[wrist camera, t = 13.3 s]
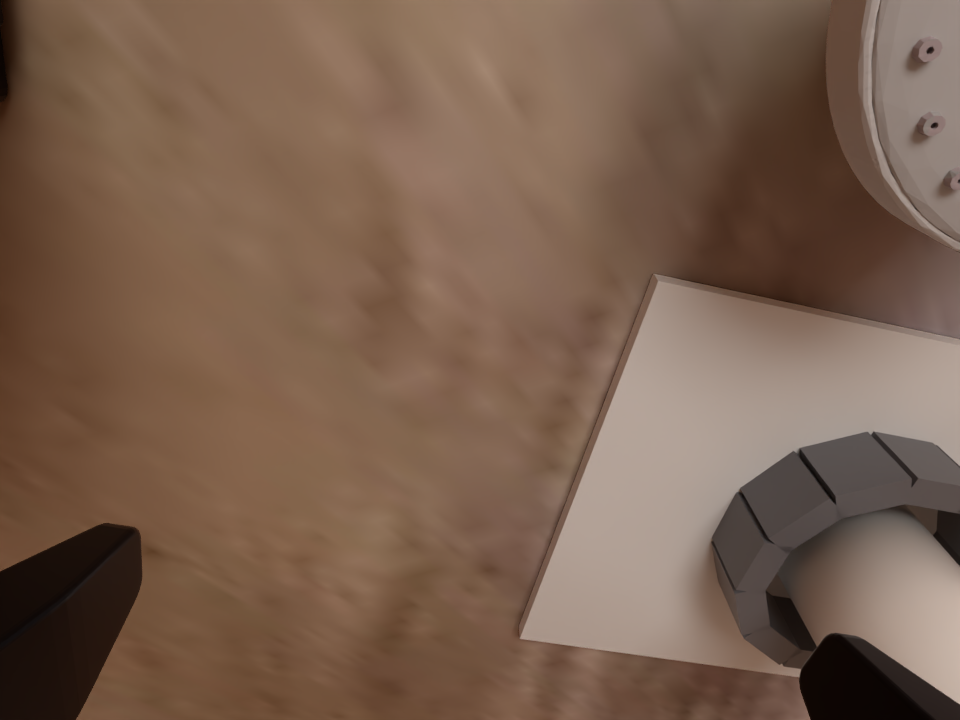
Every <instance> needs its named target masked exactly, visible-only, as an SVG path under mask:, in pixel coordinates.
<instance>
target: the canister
mask: <svg viewBox="0 0 960 720" xmlns="http://www.w3.org/2000/svg"><path fill="white" fill-rule="evenodd" d="M777 574H778V576H779V578H780V580H781V581H782V583H783V585H784V587H785V589H786V591H787V593H788V594H789V596H790V598H791V600H792V602H793V604H794V605H795V607H796V609H797V611H798V613H799V615H800V617H801V618H802V620H803V622H804V624H805V626H806V628H807V629H808V631H809V633H810V635H811V637H812V639H813V641H814V642H815V644H816V646H818V645H819V644H820V642H821V641H822V639H823V638H824V637H825V636H826V635H828V634H830V633H841V634H848V635H854V636H858V637H860V638H862V639H864V640H866V641H867V642H869V643H870V644H872V645H873V646H875V647H876V648H878V649H879V650H881V651H882V652H884V653H885V654H887V655H888V656H890V657H891V658H892V659H894V660H895V661H897V662H898V663H900V664H901V665H903V666H904V667H906V668H907V669H909V670H910V671H912V672H913V673H914V674H916V675H917V676H919V677H920V678H922V679H923V680H925V681H926V682H928V683H929V684H931V685H932V686H934V687H935V688H936V689H938V690H939V691H941V692H942V693H944V694H945V695H947V696H948V697H950V698H951V699H953V700H954V701H956V702H957V703H959V704H960V566H959V565H958V564H957V563H956V562H955V560H954V559H953V558H952V557H951V556H950V555H949V554H948V552H947V551H946V550H945V549H944V548H943V547H942V546H941V544H940V543H939V542H938V541H937V540H936V539H935V538H934V536H933V535H932V534H931V533H930V532H929V531H928V530H927V528H926V527H925V526H924V525H923V524H922V523H921V522H920V520H919V519H918V518H917V517H916V516H915V515H914V514H913V512H912V511H911V510H910V509H909V508H908V507H907V506H906V505H905V504H904V505H899V506H895V507H890V508H886V509H881V510H877V511H873V512H868V513H864V514H859V515H855V516H850V517H846V518H842V519H840V520H839V521H837V522H836V523H834V524H833V525H831V526H829V527H828V528H826V529H825V530H823V531H822V532H820V533H818V534H817V535H815V536H814V537H812V538H811V539H809V540H807V541H806V542H804V543H803V544H801V545H800V546H798V547H796V548H795V549H793V550H792V551H791V552H790V553H789V555H788V556H787V558H786V559H785V561H784V563H783V564H782V566H781V567H780V569H779V570H778V572H777Z"/></svg>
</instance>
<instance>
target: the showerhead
mask: <svg viewBox="0 0 960 720" xmlns="http://www.w3.org/2000/svg"><path fill="white" fill-rule="evenodd" d="M826 85H827V93H828V100H829V108H830V112H831V116H832V121H833V125H834V129H835V132H836V135H837V138H838V141H839V143H840V146H841V149H842V152H843V154H844V156H845V158H846V160H847V162H848V164H849V165H850V167H851V169H852V171H853V173H854V174H855V175H856V177H857V178H858V180H859V181H860V183H861V184H862V186H863V187H864V188H865V189H866V190H867V192H868V193H869V194H870V195H871V196H872V197H873V198H874V199H875V200H876V202H878V203H879V204H880V205H881V206H882V207H884V208H885V209H886V210H887V211H888V212H889V213H891V214H892V215H894V216H895V217H897V218H898V219H900V220H901V221H903V222H904V223H906V224H908V225H909V226H911V227H913V228H915V229H916V230H918V231H920V232H922V233H923V234H925V235H927V236H929V237H931V238H932V239H934V240H936V241H938V242H939V243H941V244H943V245H945V246H947V247H949V248H951V249H953V250H956V251H958V252H960V0H832V4H831V11H830V17H829V24H828V31H827V46H826Z"/></svg>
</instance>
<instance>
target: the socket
mask: <svg viewBox="0 0 960 720" xmlns="http://www.w3.org/2000/svg"><path fill="white" fill-rule="evenodd" d="M904 504H905V505H906V506H907V507H908V508H909V509H910V510H911V511H912V512H913V514H914V515H915V516H916V517H917V518H918V519H919V520H920V522H921V523H922V524H923V525H924V526H925V527H926V528H927V530H928V531H929V532H930V533H931V534H932V535H933V536H934V538H935V539H936V540H937V541H938V542H939V543H940V544H941V546H942V547H943V548H944V549H945V550H946V551H947V552H948V554H949V555H950V556H951V557H952V558H953V559H954V560H955V562H956V563H957V564H958V565H959V566H960V339H956V338H951V337H947V336H942V335H937V334H933V333H928V332H923V331H919V330H914V329H909V328H905V327H900V326H895V325H891V324H886V323H881V322H877V321H872V320H867V319H863V318H858V317H853V316H849V315H844V314H840V313H835V312H830V311H826V310H821V309H816V308H812V307H807V306H802V305H798V304H793V303H788V302H784V301H779V300H774V299H770V298H765V297H760V296H756V295H751V294H747V293H742V292H737V291H733V290H728V289H723V288H719V287H714V286H709V285H705V284H700V283H695V282H691V281H686V280H681V279H677V278H672V277H667V276H663V275H658V274H654V273H653V275H652V278H651V280H650V283H649V285H648V288H647V291H646V293H645V296H644V299H643V301H642V304H641V306H640V309H639V312H638V314H637V317H636V320H635V322H634V325H633V327H632V330H631V333H630V335H629V338H628V341H627V343H626V346H625V348H624V351H623V354H622V356H621V359H620V362H619V364H618V367H617V369H616V372H615V375H614V377H613V380H612V383H611V385H610V388H609V390H608V393H607V396H606V398H605V401H604V404H603V406H602V409H601V411H600V414H599V417H598V419H597V422H596V425H595V427H594V430H593V432H592V435H591V438H590V440H589V443H588V446H587V448H586V451H585V453H584V456H583V459H582V461H581V464H580V467H579V469H578V472H577V475H576V477H575V480H574V482H573V485H572V488H571V490H570V493H569V496H568V498H567V501H566V503H565V506H564V509H563V511H562V514H561V517H560V519H559V522H558V524H557V527H556V530H555V532H554V535H553V538H552V540H551V543H550V545H549V548H548V551H547V553H546V556H545V559H544V561H543V564H542V566H541V569H540V572H539V574H538V577H537V580H536V582H535V585H534V587H533V590H532V593H531V595H530V598H529V601H528V603H527V606H526V608H525V611H524V614H523V616H522V619H521V622H520V624H519V636H520V639H525V640H533V641H540V642H547V643H554V644H561V645H569V646H576V647H583V648H590V649H598V650H605V651H612V652H619V653H627V654H634V655H641V656H648V657H656V658H663V659H670V660H677V661H685V662H692V663H699V664H706V665H714V666H721V667H728V668H735V669H742V670H750V671H757V672H764V673H771V674H779V675H786V676H793V677H799V676H800V671H801V668H802V667H803V665H804V664H805V662H806V661H807V660H808V658H809V657H810V656H811V654H812V653H813V652H814V650H815V649H816V648H817V646H816V644H815V642H814V641H813V639H812V637H811V635H810V633H809V631H808V629H807V628H806V626H805V624H804V622H803V620H802V618H801V617H800V615H799V613H798V611H797V609H796V607H795V605H794V604H793V602H792V600H791V598H790V596H789V594H788V593H787V591H786V589H785V587H784V585H783V583H782V581H781V580H780V578H779V576H778V574H777V572H778V570H779V569H780V567H781V566H782V564H783V563H784V561H785V559H786V558H787V556H788V555H789V553H790V552H791V551H792V550H793V549H795V548H796V547H798V546H800V545H801V544H803V543H804V542H806V541H807V540H809V539H811V538H812V537H814V536H815V535H817V534H818V533H820V532H822V531H823V530H825V529H826V528H828V527H829V526H831V525H833V524H834V523H836V522H837V521H839V520H840V519H842V518H846V517H850V516H855V515H859V514H864V513H868V512H873V511H877V510H881V509H886V508H890V507H895V506H899V505H904Z"/></svg>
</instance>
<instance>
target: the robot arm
mask: <svg viewBox="0 0 960 720" xmlns="http://www.w3.org/2000/svg"><path fill="white" fill-rule="evenodd" d="M2 24H3V15H2V6H1V0H0V26H1V25H2ZM6 96H7V80H6V72H5V64H4V56H3V48H2V40H1V32H0V102H2V101H4V99H5V97H6ZM141 581H142V556H141V536H140V533H139V530H138V529H136V528H135V527H130V526H123V525H116V524H110V523H104V524H100V525H97V526H95V527H93V528H91V529H89V530H87V531H85V532H82V533H80V534H78V535H76V536H74V537H72V538H70V539H68V540H66V541H63V542H61V543H59V544H57V545H55V546H53V547H51V548H49V549H47V550H44V551H42V552H40V553H38V554H36V555H34V556H32V557H30V558H28V559H25V560H23V561H21V562H19V563H17V564H15V565H13V566H11V567H9V568H6V569H4V570H2V571H0V720H76V718H77V717H78V715H79V713H80V712H81V710H82V708H83V706H84V704H85V702H86V700H87V698H88V696H89V694H90V692H91V690H92V688H93V686H94V684H95V682H96V680H97V678H98V676H99V674H100V672H101V670H102V668H103V666H104V664H105V662H106V659H107V657H108V655H109V653H110V651H111V649H112V647H113V645H114V643H115V641H116V639H117V637H118V635H119V633H120V631H121V629H122V627H123V625H124V623H125V621H126V618H127V616H128V614H129V612H130V610H131V608H132V606H133V604H134V602H135V600H136V598H137V595H138V592H139V590H140V586H141ZM799 684H800V690H801V693H802V696H803V699H804V702H805V705H806V708H807V711H808V713H809V716H810V719H811V720H960V704H959V703H957V702H956V701H954V700H953V699H951V698H950V697H948V696H947V695H945V694H944V693H942V692H941V691H939V690H938V689H936V688H935V687H934V686H932V685H931V684H929V683H928V682H926V681H925V680H923V679H922V678H920V677H919V676H917V675H916V674H914V673H913V672H912V671H910V670H909V669H907V668H906V667H904V666H903V665H901V664H900V663H898V662H897V661H895V660H894V659H892V658H891V657H890V656H888V655H887V654H885V653H884V652H882V651H881V650H879V649H878V648H876V647H875V646H873V645H872V644H870V643H869V642H867V641H866V640H864V639H862V638H860V637H858V636H854V635H848V634H841V633H830V634H828V635H826V636H825V637H824V638H823V639H822V641H821V642H820V644H819V645H818V646H817V648H816V649H815V650H814V652H813V653H812V654H811V656H810V657H809V658H808V660H807V661H806V662H805V664H804V665H803V667H802V668H801V671H800V676H799Z"/></svg>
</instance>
